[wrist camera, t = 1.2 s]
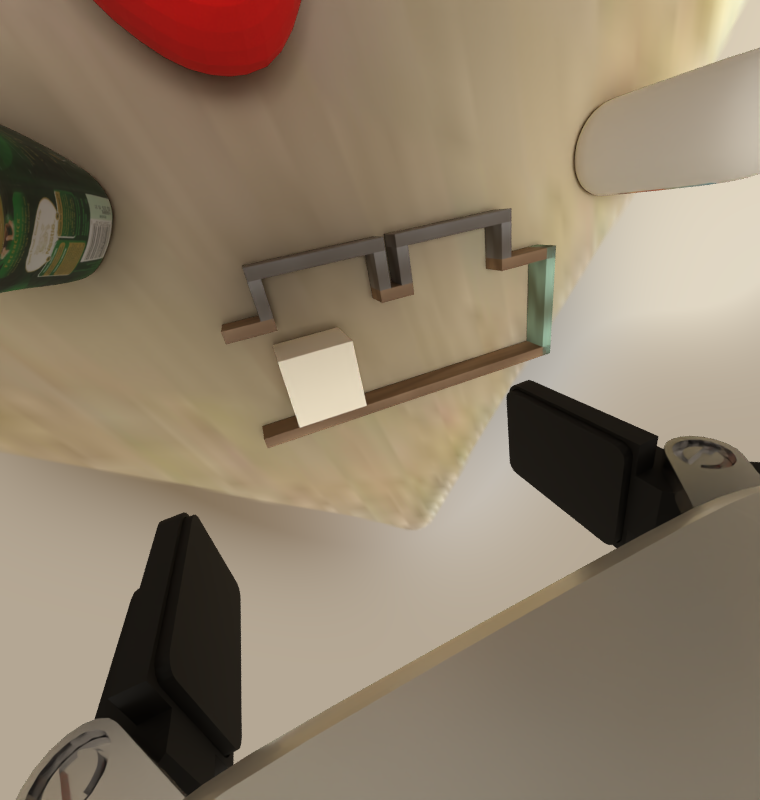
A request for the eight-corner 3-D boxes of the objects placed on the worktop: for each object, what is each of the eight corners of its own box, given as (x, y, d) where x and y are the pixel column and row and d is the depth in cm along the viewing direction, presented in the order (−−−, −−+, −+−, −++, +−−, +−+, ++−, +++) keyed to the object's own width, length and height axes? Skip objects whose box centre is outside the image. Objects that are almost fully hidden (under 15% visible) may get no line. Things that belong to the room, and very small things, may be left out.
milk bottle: (567, 201, 35) (874, 173, 18) (576, 103, 32) (968, -47, 15) (627, 190, 37) (957, 155, 20) (642, 96, 34) (1059, -44, 16)
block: (272, 344, 31) (277, 362, 27) (337, 326, 33) (352, 340, 28) (292, 403, 34) (299, 427, 30) (351, 384, 36) (366, 405, 31)
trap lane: (202, 274, 27) (199, 277, 25) (538, 200, 34) (558, 197, 32) (266, 434, 34) (267, 448, 32) (533, 346, 41) (549, 353, 39)
